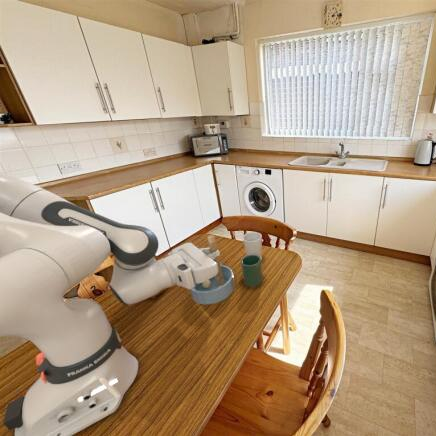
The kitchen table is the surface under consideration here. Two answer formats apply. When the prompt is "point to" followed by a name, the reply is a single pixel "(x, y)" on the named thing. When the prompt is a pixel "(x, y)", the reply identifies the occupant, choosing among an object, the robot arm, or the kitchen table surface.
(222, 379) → the kitchen table surface
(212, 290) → the mixing bowl
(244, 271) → the crock
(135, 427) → the kitchen table surface
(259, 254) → the cup
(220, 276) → the wooden spoon
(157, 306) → the kitchen table surface
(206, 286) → the dough ball
